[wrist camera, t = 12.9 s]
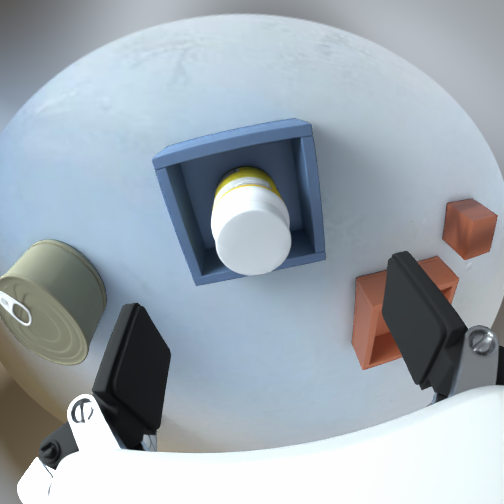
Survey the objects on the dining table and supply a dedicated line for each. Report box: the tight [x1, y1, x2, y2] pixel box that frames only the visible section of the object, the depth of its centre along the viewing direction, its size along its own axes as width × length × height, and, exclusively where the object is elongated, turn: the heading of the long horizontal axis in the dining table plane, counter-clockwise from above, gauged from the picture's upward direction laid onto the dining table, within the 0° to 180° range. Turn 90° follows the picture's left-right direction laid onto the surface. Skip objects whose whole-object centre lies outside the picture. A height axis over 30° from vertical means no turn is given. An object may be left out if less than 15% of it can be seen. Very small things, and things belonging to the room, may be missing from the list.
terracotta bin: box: [352, 256, 459, 370], centre depth 28 cm, size 11×11×5 cm
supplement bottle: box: [211, 165, 291, 276], centre depth 18 cm, size 5×5×8 cm
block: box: [442, 199, 498, 260], centre depth 23 cm, size 4×4×4 cm
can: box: [0, 240, 107, 365], centre depth 23 cm, size 12×12×7 cm
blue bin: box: [152, 118, 326, 286], centre depth 20 cm, size 10×10×5 cm
